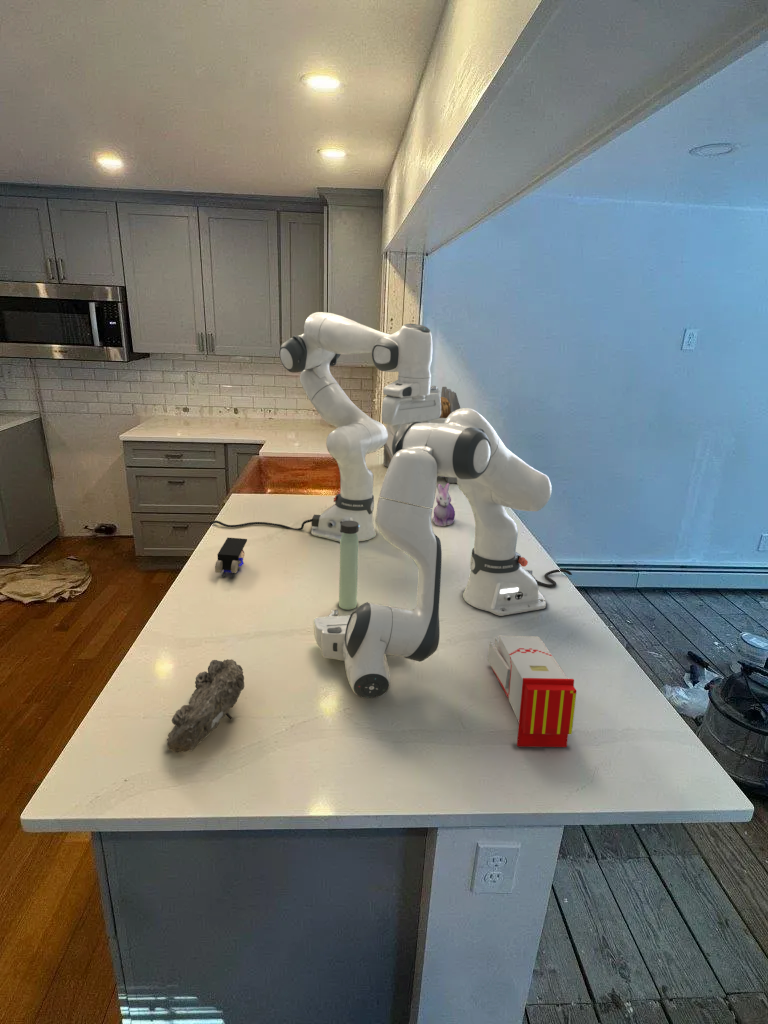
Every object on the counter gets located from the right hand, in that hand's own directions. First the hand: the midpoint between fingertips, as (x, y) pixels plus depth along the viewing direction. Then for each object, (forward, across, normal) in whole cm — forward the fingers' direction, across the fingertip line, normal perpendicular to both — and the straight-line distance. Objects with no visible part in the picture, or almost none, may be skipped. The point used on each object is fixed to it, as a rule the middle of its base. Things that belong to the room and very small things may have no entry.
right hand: (353, 611), depth 138 cm
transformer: (+138, -48, +6) cm, 146 cm away
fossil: (-28, +30, +5) cm, 42 cm away
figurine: (+71, -42, +5) cm, 83 cm away
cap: (+12, 0, -18) cm, 22 cm away
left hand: (+31, -19, -36) cm, 51 cm away
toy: (-30, -32, +5) cm, 44 cm away
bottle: (+12, 0, +5) cm, 13 cm away
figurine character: (+36, +32, +5) cm, 48 cm away
